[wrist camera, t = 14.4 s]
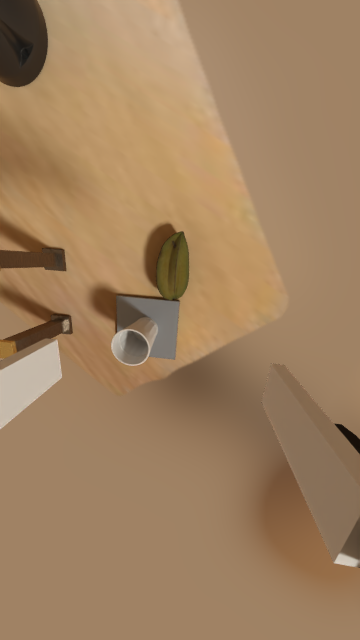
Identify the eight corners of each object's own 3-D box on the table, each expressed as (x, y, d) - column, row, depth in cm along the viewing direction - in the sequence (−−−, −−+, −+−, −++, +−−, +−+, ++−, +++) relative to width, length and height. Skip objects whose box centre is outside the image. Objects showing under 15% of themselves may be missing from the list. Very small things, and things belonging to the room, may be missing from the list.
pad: (118, 295, 49) (116, 295, 48) (179, 300, 48) (179, 301, 46) (119, 351, 53) (117, 353, 52) (175, 357, 52) (174, 359, 51)
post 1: (45, 248, 47) (-34, 241, 31) (64, 250, 47) (-6, 243, 31) (47, 269, 48) (-27, 272, 32) (66, 270, 48) (0, 275, 32)
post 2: (53, 314, 52) (-11, 337, 36) (70, 316, 52) (13, 339, 36) (55, 331, 54) (-6, 360, 38) (72, 333, 53) (18, 363, 37)
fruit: (143, 264, 46) (134, 264, 40) (182, 231, 43) (180, 226, 37) (171, 301, 48) (167, 307, 42) (211, 272, 45) (213, 274, 39)
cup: (127, 335, 50) (106, 356, 39) (136, 309, 48) (117, 322, 37) (154, 347, 51) (142, 371, 39) (165, 321, 48) (155, 339, 37)
